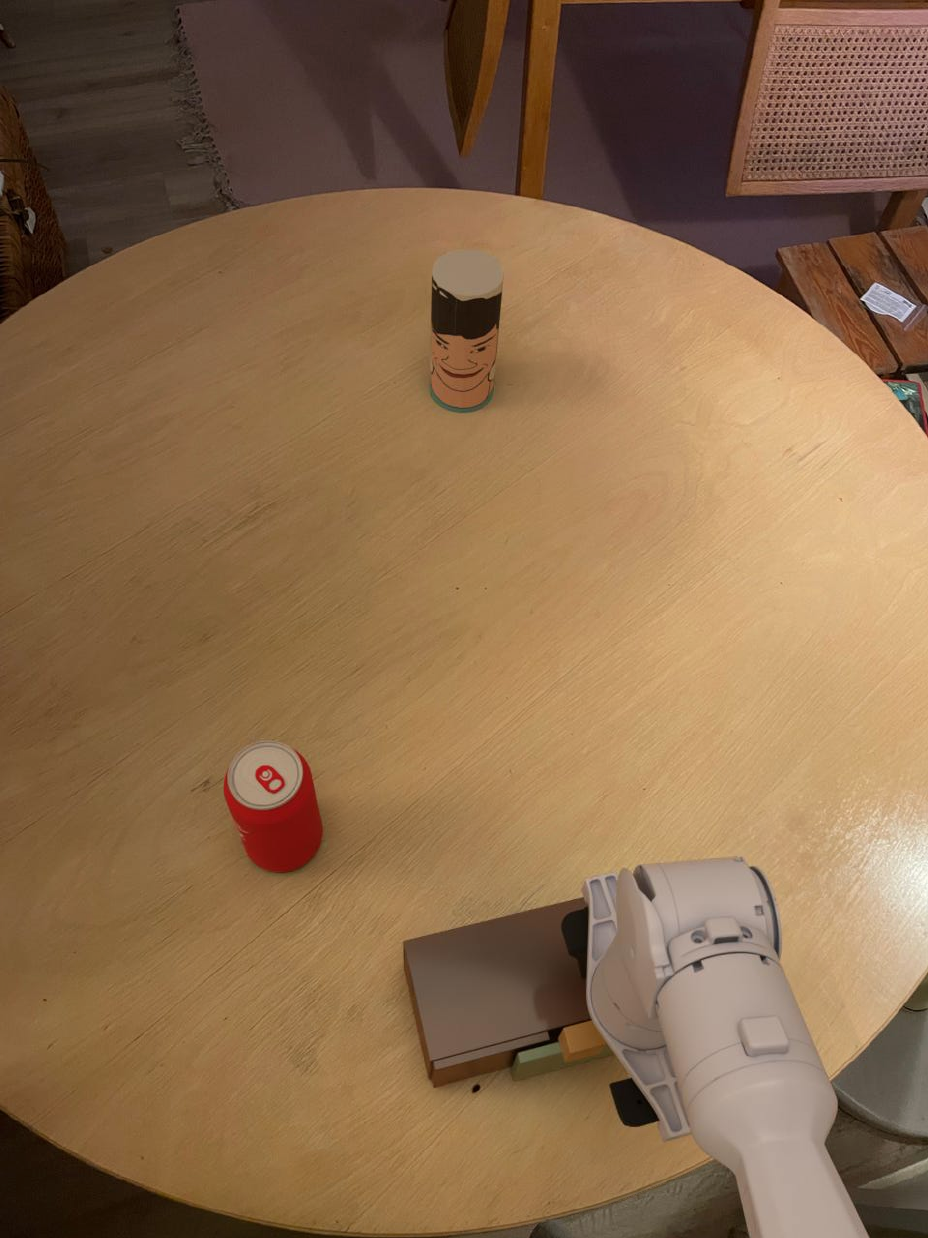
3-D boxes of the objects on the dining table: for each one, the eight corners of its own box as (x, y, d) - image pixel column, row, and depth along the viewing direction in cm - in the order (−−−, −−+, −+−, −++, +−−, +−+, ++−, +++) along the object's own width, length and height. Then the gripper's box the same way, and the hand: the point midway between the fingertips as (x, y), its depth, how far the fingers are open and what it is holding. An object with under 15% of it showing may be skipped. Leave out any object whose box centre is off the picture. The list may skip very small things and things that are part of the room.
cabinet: (645, 1030, 75) (664, 1009, 69) (430, 1089, 72) (432, 1071, 67) (607, 915, 79) (622, 887, 74) (403, 966, 77) (402, 941, 71)
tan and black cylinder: (416, 392, 109) (417, 275, 97) (454, 358, 112) (460, 239, 100) (468, 422, 107) (476, 305, 95) (505, 385, 110) (517, 268, 98)
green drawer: (623, 1062, 73) (649, 1032, 65) (514, 1092, 72) (527, 1065, 64) (615, 1039, 74) (640, 1007, 66) (508, 1068, 73) (520, 1039, 65)
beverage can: (289, 785, 84) (272, 716, 74) (339, 838, 82) (329, 774, 72) (227, 836, 82) (201, 771, 72) (277, 892, 79) (257, 833, 69)
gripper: (781, 1100, 52) (715, 1135, 63) (678, 832, 59) (635, 907, 71) (649, 1138, 51) (606, 1167, 62) (561, 860, 58) (536, 931, 70)
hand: (614, 1030), depth 66 cm, fingers open, 7 cm apart
